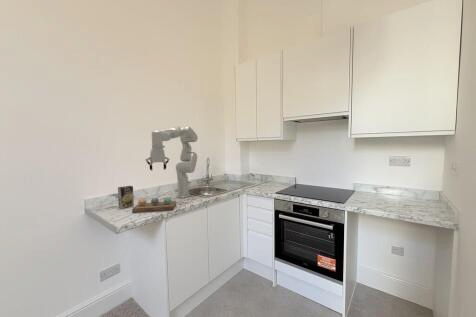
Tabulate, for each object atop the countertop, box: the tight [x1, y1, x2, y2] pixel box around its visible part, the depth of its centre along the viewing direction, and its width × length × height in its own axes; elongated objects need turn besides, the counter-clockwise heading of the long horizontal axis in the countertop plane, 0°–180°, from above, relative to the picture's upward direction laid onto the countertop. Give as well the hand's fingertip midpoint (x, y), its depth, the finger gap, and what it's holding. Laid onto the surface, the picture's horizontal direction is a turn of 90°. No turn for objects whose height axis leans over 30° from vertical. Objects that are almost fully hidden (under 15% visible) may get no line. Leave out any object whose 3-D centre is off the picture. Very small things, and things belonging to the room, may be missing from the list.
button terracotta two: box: [138, 198, 147, 205], centre depth 155 cm, size 5×5×3 cm
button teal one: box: [163, 197, 172, 203], centre depth 157 cm, size 5×5×3 cm
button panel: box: [131, 200, 177, 214], centre depth 156 cm, size 14×28×3 cm, turn 98°
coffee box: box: [117, 185, 135, 210], centre depth 162 cm, size 9×6×16 cm
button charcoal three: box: [150, 197, 159, 204], centre depth 156 cm, size 5×5×3 cm
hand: (158, 169), depth 158 cm, fingers open, 9 cm apart
